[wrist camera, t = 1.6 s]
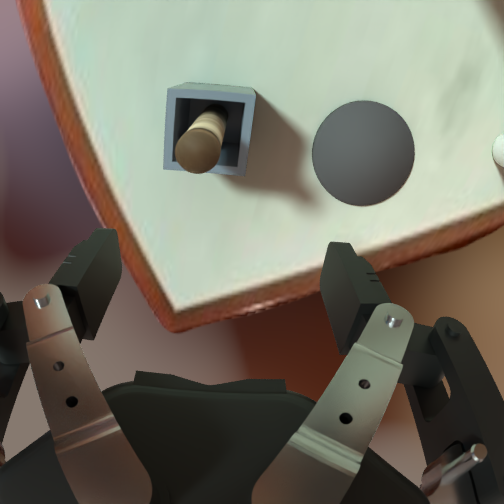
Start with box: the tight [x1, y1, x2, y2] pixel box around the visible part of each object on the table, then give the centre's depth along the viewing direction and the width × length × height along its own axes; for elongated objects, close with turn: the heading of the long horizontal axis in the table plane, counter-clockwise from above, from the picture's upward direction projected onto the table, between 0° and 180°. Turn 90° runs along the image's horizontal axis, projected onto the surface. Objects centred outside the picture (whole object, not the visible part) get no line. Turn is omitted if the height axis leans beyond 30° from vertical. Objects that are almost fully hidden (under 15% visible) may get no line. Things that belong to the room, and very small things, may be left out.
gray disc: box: [312, 101, 414, 205], centre depth 38 cm, size 14×14×1 cm
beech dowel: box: [175, 104, 228, 174], centre depth 28 cm, size 3×3×16 cm
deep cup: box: [163, 83, 256, 176], centre depth 31 cm, size 8×8×10 cm
